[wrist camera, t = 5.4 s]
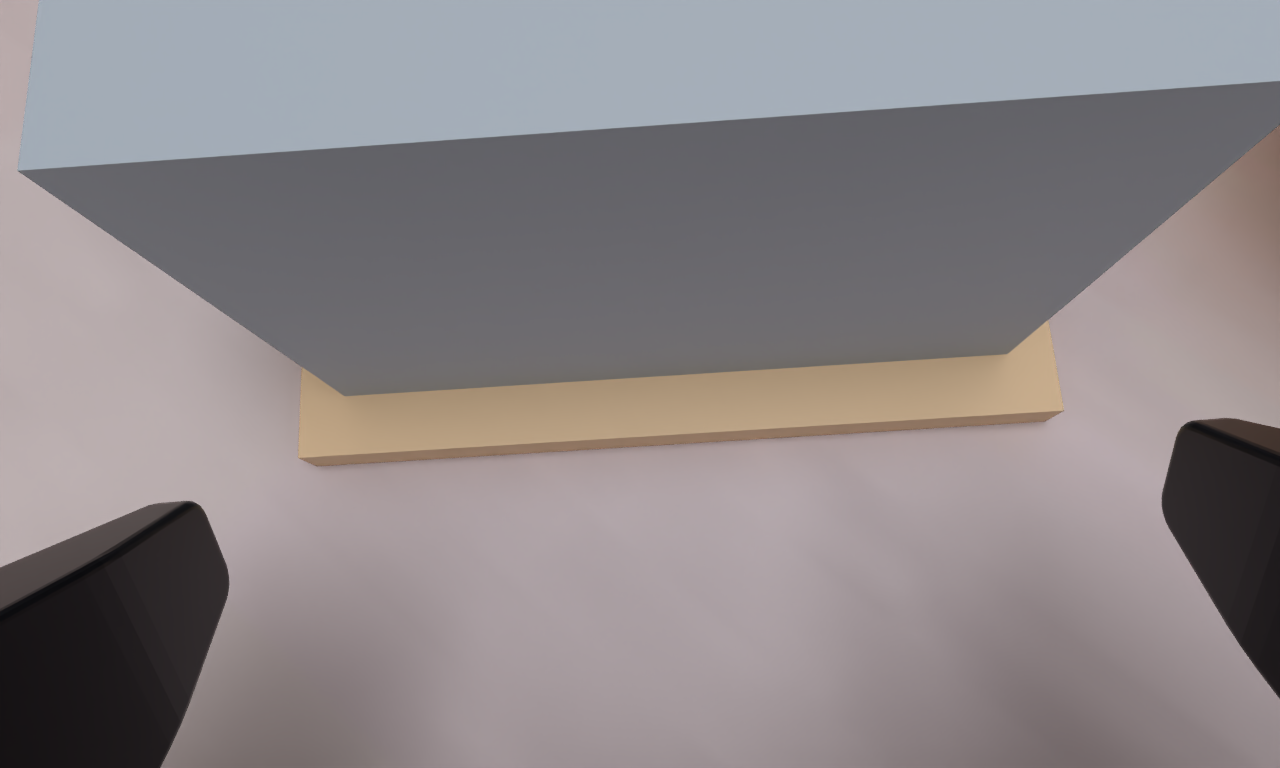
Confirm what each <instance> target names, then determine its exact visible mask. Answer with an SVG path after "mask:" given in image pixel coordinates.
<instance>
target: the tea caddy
mask: <svg viewBox="0 0 1280 768" xmlns="http://www.w3.org/2000/svg"><path fill="white" fill-rule="evenodd" d="M1279 125H1280V0H39V4H38V12H37V20H36V28H35V36H34V44H33V52H32V60H31V68H30V75H29V83H28V91H27V99H26V107H25V115H24V123H23V131H22V139H21V147H20V155H19V162H18V170H17V171H19V172H20V173H22V174H23V175H24V176H26V177H27V178H29V179H30V180H32V181H33V182H35V183H36V184H38V185H39V186H40V187H42V188H43V189H45V190H46V191H48V192H49V193H51V194H52V195H53V196H55V197H56V198H58V199H59V200H61V201H62V202H64V203H65V204H67V205H68V206H69V207H71V208H72V209H74V210H75V211H77V212H78V213H80V214H81V215H82V216H84V217H85V218H87V219H88V220H90V221H91V222H93V223H94V224H96V225H97V226H98V227H100V228H101V229H103V230H104V231H106V232H107V233H109V234H110V235H111V236H113V237H114V238H116V239H117V240H119V241H120V242H122V243H123V244H125V245H126V246H127V247H129V248H130V249H132V250H133V251H135V252H136V253H138V254H139V255H140V256H142V257H143V258H145V259H146V260H148V261H149V262H151V263H152V264H154V265H155V266H156V267H158V268H159V269H161V270H162V271H164V272H165V273H167V274H168V275H169V276H171V277H172V278H174V279H175V280H177V281H178V282H180V283H181V284H183V285H184V286H185V287H187V288H188V289H190V290H191V291H193V292H194V293H196V294H197V295H198V296H200V297H201V298H203V299H204V300H206V301H207V302H209V303H210V304H212V305H213V306H214V307H216V308H217V309H219V310H220V311H222V312H223V313H225V314H226V315H227V316H229V317H230V318H232V319H233V320H235V321H236V322H238V323H239V324H241V325H242V326H243V327H245V328H246V329H248V330H249V331H251V332H252V333H254V334H255V335H256V336H258V337H259V338H261V339H262V340H264V341H265V342H267V343H268V344H270V345H271V346H272V347H274V348H275V349H277V350H278V351H280V352H281V353H283V354H284V355H285V356H287V357H288V358H290V359H291V360H293V361H294V362H296V363H297V364H299V365H300V366H301V367H302V371H301V397H300V422H299V448H298V458H299V459H302V460H304V461H306V462H308V463H311V464H313V465H315V466H330V465H346V464H362V463H378V462H394V461H411V460H427V459H443V458H459V457H475V456H492V455H508V454H524V453H540V452H556V451H573V450H589V449H605V448H621V447H637V446H654V445H670V444H686V443H702V442H718V441H735V440H751V439H767V438H783V437H799V436H816V435H832V434H848V433H864V432H880V431H897V430H913V429H929V428H945V427H961V426H978V425H994V424H1010V423H1026V422H1042V421H1047V420H1048V419H1050V418H1052V417H1054V416H1055V415H1057V414H1059V413H1061V412H1062V411H1064V408H1063V402H1062V397H1061V391H1060V385H1059V379H1058V374H1057V368H1056V362H1055V356H1054V351H1053V345H1052V339H1051V333H1050V327H1049V322H1048V320H1049V319H1050V318H1051V317H1052V316H1053V315H1054V314H1056V313H1057V312H1058V311H1059V310H1060V309H1062V308H1063V307H1064V306H1065V305H1066V304H1068V303H1069V302H1070V301H1071V300H1072V299H1073V298H1075V297H1076V296H1077V295H1078V294H1079V293H1081V292H1082V291H1083V290H1084V289H1085V288H1086V287H1088V286H1089V285H1090V284H1091V283H1092V282H1094V281H1095V280H1096V279H1097V278H1098V277H1100V276H1101V275H1102V274H1103V273H1104V272H1105V271H1107V270H1108V269H1109V268H1110V267H1111V266H1113V265H1114V264H1115V263H1116V262H1117V261H1119V260H1120V259H1121V258H1122V257H1123V256H1124V255H1126V254H1127V253H1128V252H1129V251H1130V250H1132V249H1133V248H1134V247H1135V246H1136V245H1137V244H1139V243H1140V242H1141V241H1142V240H1143V239H1145V238H1146V237H1147V236H1148V235H1149V234H1151V233H1152V232H1153V231H1154V230H1155V229H1156V228H1158V227H1159V226H1160V225H1161V224H1162V223H1164V222H1165V221H1166V220H1167V219H1168V218H1169V217H1171V216H1172V215H1173V214H1174V213H1175V212H1177V211H1178V210H1179V209H1180V208H1181V207H1183V206H1184V205H1185V204H1186V203H1187V202H1188V201H1190V200H1191V199H1192V198H1193V197H1194V196H1196V195H1197V194H1198V193H1199V192H1200V191H1201V190H1203V189H1204V188H1205V187H1206V186H1207V185H1209V184H1210V183H1211V182H1212V181H1213V180H1215V179H1216V178H1217V177H1218V176H1219V175H1220V174H1222V173H1223V172H1224V171H1225V170H1226V169H1228V168H1229V167H1230V166H1231V165H1232V164H1233V163H1235V162H1236V161H1237V160H1238V159H1239V158H1241V157H1242V156H1243V155H1244V154H1245V153H1247V152H1248V151H1249V150H1250V149H1251V148H1252V147H1254V146H1255V145H1256V144H1257V143H1258V142H1260V141H1261V140H1262V139H1263V138H1264V137H1266V136H1267V135H1268V134H1269V133H1270V132H1271V131H1273V130H1274V129H1275V128H1276V127H1277V126H1279Z"/></svg>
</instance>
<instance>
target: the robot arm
mask: <svg viewBox="0 0 1280 768" xmlns="http://www.w3.org/2000/svg"><path fill="white" fill-rule="evenodd" d="M1162 509H1163V514H1164V517H1165V520H1166V523H1167V525H1168V527H1169V529H1170V531H1171V532H1172V534H1173V536H1174V537H1175V539H1176V541H1177V542H1178V544H1179V546H1180V547H1181V549H1182V551H1183V552H1184V554H1185V556H1186V557H1187V559H1188V561H1189V562H1190V564H1191V566H1192V567H1193V569H1194V571H1195V572H1196V574H1197V576H1198V577H1199V579H1200V581H1201V583H1202V584H1203V586H1204V588H1205V589H1206V591H1207V593H1208V594H1209V596H1210V598H1211V599H1212V601H1213V603H1214V604H1215V606H1216V608H1217V609H1218V611H1219V613H1220V614H1221V616H1222V618H1223V619H1224V621H1225V623H1226V624H1227V626H1228V627H1229V629H1230V631H1231V632H1232V634H1233V635H1234V637H1235V638H1236V640H1237V641H1238V643H1239V644H1240V646H1241V647H1242V649H1243V650H1244V652H1245V653H1246V654H1247V656H1248V657H1249V659H1250V660H1251V661H1252V663H1253V664H1254V666H1255V667H1256V668H1257V670H1258V671H1259V672H1260V674H1261V675H1262V676H1263V677H1264V679H1265V680H1266V681H1267V683H1268V684H1269V685H1270V687H1271V688H1272V689H1273V691H1274V692H1275V693H1276V695H1277V696H1278V697H1279V698H1280V428H1275V427H1271V426H1266V425H1262V424H1257V423H1252V422H1248V421H1243V420H1239V419H1231V418H1220V419H1208V420H1195V421H1190V422H1187V423H1186V424H1185V425H1184V426H1182V427H1181V429H1180V430H1179V432H1178V434H1177V437H1176V440H1175V444H1174V448H1173V452H1172V456H1171V460H1170V464H1169V468H1168V472H1167V476H1166V480H1165V484H1164V488H1163V493H1162ZM228 591H229V574H228V569H227V565H226V563H225V560H224V558H223V555H222V553H221V550H220V548H219V545H218V543H217V540H216V538H215V535H214V533H213V530H212V528H211V526H210V523H209V521H208V518H207V516H206V514H205V512H204V510H203V509H202V507H201V506H200V505H198V504H196V503H195V502H192V501H181V502H168V503H157V504H153V505H148V506H146V507H144V508H141V509H139V510H137V511H134V512H132V513H129V514H127V515H125V516H122V517H120V518H117V519H115V520H113V521H110V522H108V523H105V524H103V525H101V526H98V527H96V528H94V529H91V530H89V531H86V532H84V533H82V534H79V535H77V536H74V537H72V538H70V539H67V540H65V541H63V542H60V543H58V544H55V545H53V546H51V547H48V548H46V549H43V550H41V551H39V552H36V553H34V554H31V555H29V556H27V557H24V558H22V559H20V560H17V561H15V562H12V563H10V564H8V565H5V566H3V567H0V768H160V767H161V765H162V763H163V761H164V759H165V757H166V755H167V753H168V751H169V749H170V747H171V745H172V743H173V740H174V738H175V736H176V734H177V732H178V730H179V728H180V725H181V723H182V720H183V718H184V716H185V713H186V711H187V708H188V706H189V703H190V700H191V698H192V695H193V692H194V689H195V686H196V684H197V681H198V678H199V675H200V673H201V670H202V667H203V664H204V661H205V659H206V656H207V653H208V650H209V647H210V645H211V642H212V639H213V636H214V633H215V631H216V628H217V625H218V622H219V619H220V617H221V614H222V611H223V608H224V606H225V603H226V600H227V596H228Z"/></svg>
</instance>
